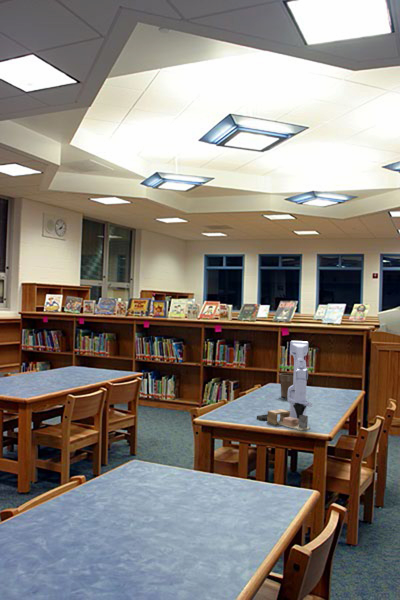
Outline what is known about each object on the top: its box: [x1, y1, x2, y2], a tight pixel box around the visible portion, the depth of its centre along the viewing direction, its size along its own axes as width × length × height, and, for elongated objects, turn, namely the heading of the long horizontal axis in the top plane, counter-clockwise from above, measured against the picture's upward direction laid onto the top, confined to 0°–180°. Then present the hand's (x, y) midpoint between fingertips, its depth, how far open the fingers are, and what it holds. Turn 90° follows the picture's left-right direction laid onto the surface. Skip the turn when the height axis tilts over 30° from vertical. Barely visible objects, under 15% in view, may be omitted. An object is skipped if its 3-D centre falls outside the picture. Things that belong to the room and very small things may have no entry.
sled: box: [277, 414, 310, 431], centre depth 272 cm, size 7×18×7 cm, turn 39°
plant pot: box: [278, 372, 295, 399], centre depth 365 cm, size 16×16×16 cm
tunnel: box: [266, 408, 290, 426], centre depth 280 cm, size 11×6×6 cm, turn 129°
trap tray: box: [256, 413, 268, 422], centre depth 287 cm, size 9×5×2 cm, turn 129°
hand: (299, 418), depth 269 cm, fingers closed
